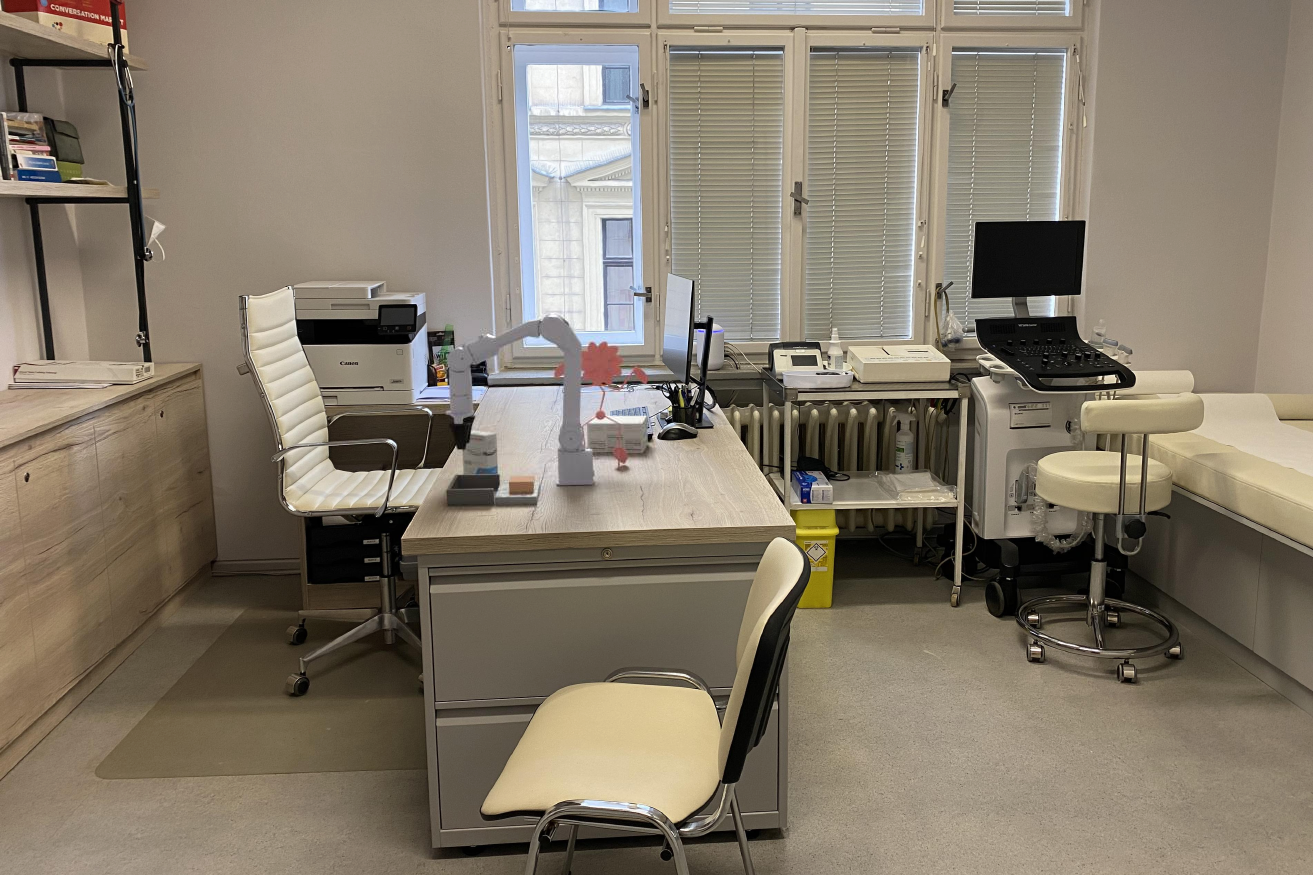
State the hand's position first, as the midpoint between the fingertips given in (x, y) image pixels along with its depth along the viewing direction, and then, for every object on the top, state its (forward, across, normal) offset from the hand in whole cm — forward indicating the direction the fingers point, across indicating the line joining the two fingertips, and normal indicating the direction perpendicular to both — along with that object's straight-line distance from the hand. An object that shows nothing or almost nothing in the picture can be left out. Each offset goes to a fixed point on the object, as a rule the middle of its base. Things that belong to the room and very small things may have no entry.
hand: (463, 446), depth 262 cm
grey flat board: (+10, +14, +15) cm, 23 cm away
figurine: (+10, -20, +36) cm, 42 cm away
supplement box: (+10, -42, +41) cm, 60 cm away
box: (+10, +14, +4) cm, 18 cm away
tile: (+8, +14, +16) cm, 23 cm away
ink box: (+10, -10, +3) cm, 15 cm away
